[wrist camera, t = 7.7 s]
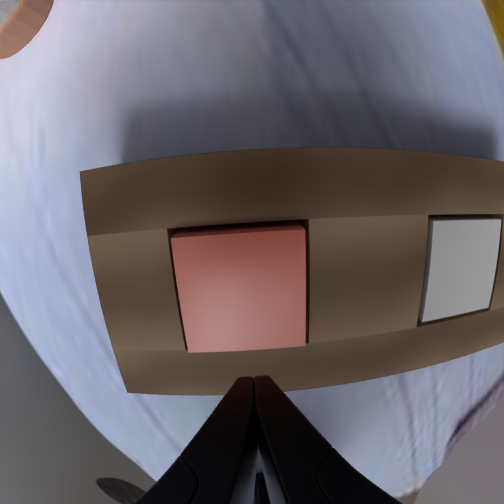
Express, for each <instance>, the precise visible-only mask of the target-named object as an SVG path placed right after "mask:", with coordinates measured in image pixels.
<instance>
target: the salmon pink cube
mask: <svg viewBox="0 0 504 504" xmlns="http://www.w3.org/2000/svg"><path fill="white" fill-rule="evenodd" d="M171 244H172V252H173V260H174V267H175V274H176V281H177V288H178V295H179V301H180V307H181V313H182V319H183V325H184V331H185V336H186V342H187V347H188V352H189V353H191V352H226V351H246V350H262V349H276V348H287V347H298V346H305V340H306V243H305V229H304V228H303V227H302V226H301V225H300V224H299V223H298V222H297V221H296V220H280V221H264V222H248V223H233V224H219V225H205V226H192V227H182V228H181V229H180V230H179V231H178V232H177V233H176V234H175V235H174V236H173V237H172V238H171Z"/></svg>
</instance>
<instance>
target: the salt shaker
mask: <svg viewBox="0 0 504 504" xmlns="http://www.w3.org/2000/svg"><path fill="white" fill-rule="evenodd" d="M52 3H53V0H0V59H3V58H8V57H10V56H12V55H13V54H15V53H17V52H19V51H20V50H21V49H22V48H23V47H24V46H25V45H26V44H28V43H29V42H30V40H31V39H32V38H33V37H34V36H35V34H36V33H37V32H38V31H39V29H40V28H41V26H42V25H43V23H44V22H45V20H46V18H47V16H48V14H49V12H50V10H51V7H52Z"/></svg>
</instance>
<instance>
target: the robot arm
mask: <svg viewBox="0 0 504 504" xmlns="http://www.w3.org/2000/svg"><path fill="white" fill-rule="evenodd" d="M258 447H259V454H260V459H261V464H262V468H263V473H264V474H260V475H256V469H257V458H258ZM180 455H181V456H179V457H178V458H177V459H176V460H175V462H174V463H173V464H172V465H171V467H170V468H169V469H168V470H167V471H166V472H165V474H164V475H163V476H162V477H161V478H160V479H159V480H158V481H157V482H156V483H155V484H154V485H153V486H152V487H151V488H150V489H149V490H148V491H147V492H146V493H145V494H143V495H142V496H141V497H140V498H139V499H138V500H137V501H135V502H134V503H133V504H402V503H401V502H399V501H398V500H396V499H395V498H394V497H392V496H391V495H389V494H388V493H386V492H385V491H383V490H382V489H381V488H379V487H378V486H376V485H375V484H374V483H372V482H371V481H370V480H368V479H367V478H366V477H365V476H363V475H362V474H361V473H360V472H358V471H357V470H356V469H355V468H354V467H353V466H351V465H350V464H349V463H348V462H347V461H346V460H345V459H344V458H343V457H342V456H341V455H340V454H339V453H338V452H337V451H336V450H335V449H334V448H332V446H331V444H330V443H329V442H328V441H327V440H326V439H325V438H324V437H323V436H322V435H321V434H320V433H319V432H318V430H317V429H316V428H315V427H314V426H313V425H312V424H311V423H310V422H309V421H308V419H307V418H306V417H305V416H304V415H303V414H302V413H301V412H300V410H299V409H298V408H297V407H296V406H295V405H294V404H293V403H292V401H291V400H290V399H289V398H288V397H287V396H286V394H285V393H284V392H283V391H282V390H281V389H280V388H279V386H278V385H277V384H276V383H275V382H274V380H273V379H272V378H271V377H270V376H269V375H260V376H255V377H254V379H253V377H252V376H244V377H238V378H237V379H236V380H235V382H234V383H233V385H232V386H231V387H230V389H229V390H228V392H227V393H226V394H225V396H224V397H223V399H222V400H221V401H220V403H219V404H218V405H217V407H216V408H215V410H214V411H213V412H212V414H211V415H210V416H209V418H208V419H207V420H206V422H205V423H204V424H203V426H202V427H201V428H200V430H199V431H198V432H197V434H196V435H195V436H194V438H193V439H192V440H191V441H190V443H189V444H188V445H187V447H186V448H185V449H184V450H183V452H182V453H181V454H180Z"/></svg>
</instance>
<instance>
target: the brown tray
mask: <svg viewBox="0 0 504 504" xmlns="http://www.w3.org/2000/svg"><path fill="white" fill-rule="evenodd" d="M80 181H81V192H82V201H83V210H84V217H85V225H86V232H87V238H88V244H89V250H90V256H91V261H92V266H93V271H94V276H95V281H96V286H97V290H98V295H99V299H100V303H101V307H102V311H103V315H104V319H105V323H106V326H107V330H108V334H109V337H110V341H111V344H112V347H113V351H114V354H115V357H116V360H117V363H118V366H119V370H120V373H121V375H122V378H123V381H124V384H125V387H126V390H127V392H128V393H141V394H159V395H225V394H226V393H227V392H228V390H229V389H230V387H231V386H232V385H233V383H234V382H235V380H236V379H237V378H238V377H244V376H252V377H253V379H254V377H255V376H260V375H269V376H270V377H271V378H272V379H273V380H274V382H275V383H276V384H277V385H278V386H279V388H280V389H281V390H282V391H283V392H284V391H294V390H304V389H312V388H320V387H327V386H334V385H341V384H347V383H353V382H359V381H365V380H370V379H375V378H380V377H385V376H390V375H394V374H399V373H403V372H408V371H412V370H416V369H420V368H424V367H428V366H431V365H435V364H439V363H442V362H446V361H449V360H453V359H456V358H459V357H462V356H466V355H469V354H472V353H475V352H478V351H481V350H484V349H486V348H489V347H492V346H495V345H497V344H500V343H503V342H504V162H502V161H496V160H490V159H484V158H477V157H470V156H462V155H454V154H445V153H435V152H424V151H412V150H397V149H379V148H349V147H300V148H269V149H250V150H235V151H222V152H210V153H200V154H190V155H181V156H173V157H165V158H157V159H150V160H143V161H137V162H130V163H124V164H118V165H112V166H107V167H101V168H96V169H91V170H86V171H81V172H80ZM439 214H483V215H487V216H491V217H494V218H498V219H501V230H500V240H499V249H498V257H497V264H496V270H495V277H494V282H493V288H492V293H491V298H490V302H489V307H488V308H484V309H480V310H476V311H472V312H467V313H463V314H459V315H454V316H450V317H445V318H440V319H435V320H431V321H425V322H421V321H420V320H419V319H418V314H419V307H420V301H421V294H422V286H423V278H424V269H425V259H426V247H427V232H428V215H439ZM280 220H296V221H297V222H298V223H299V224H300V225H301V226H302V227H303V228H304V229H305V243H306V340H305V346H298V347H287V348H276V349H262V350H246V351H226V352H191V353H189V352H188V347H187V342H186V336H185V331H184V325H183V319H182V313H181V307H180V301H179V295H178V288H177V281H176V274H175V267H174V260H173V252H172V244H171V238H172V237H173V236H174V235H175V234H176V233H177V232H178V231H179V230H180V229H181V228H182V227H192V226H205V225H219V224H233V223H248V222H264V221H280Z"/></svg>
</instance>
